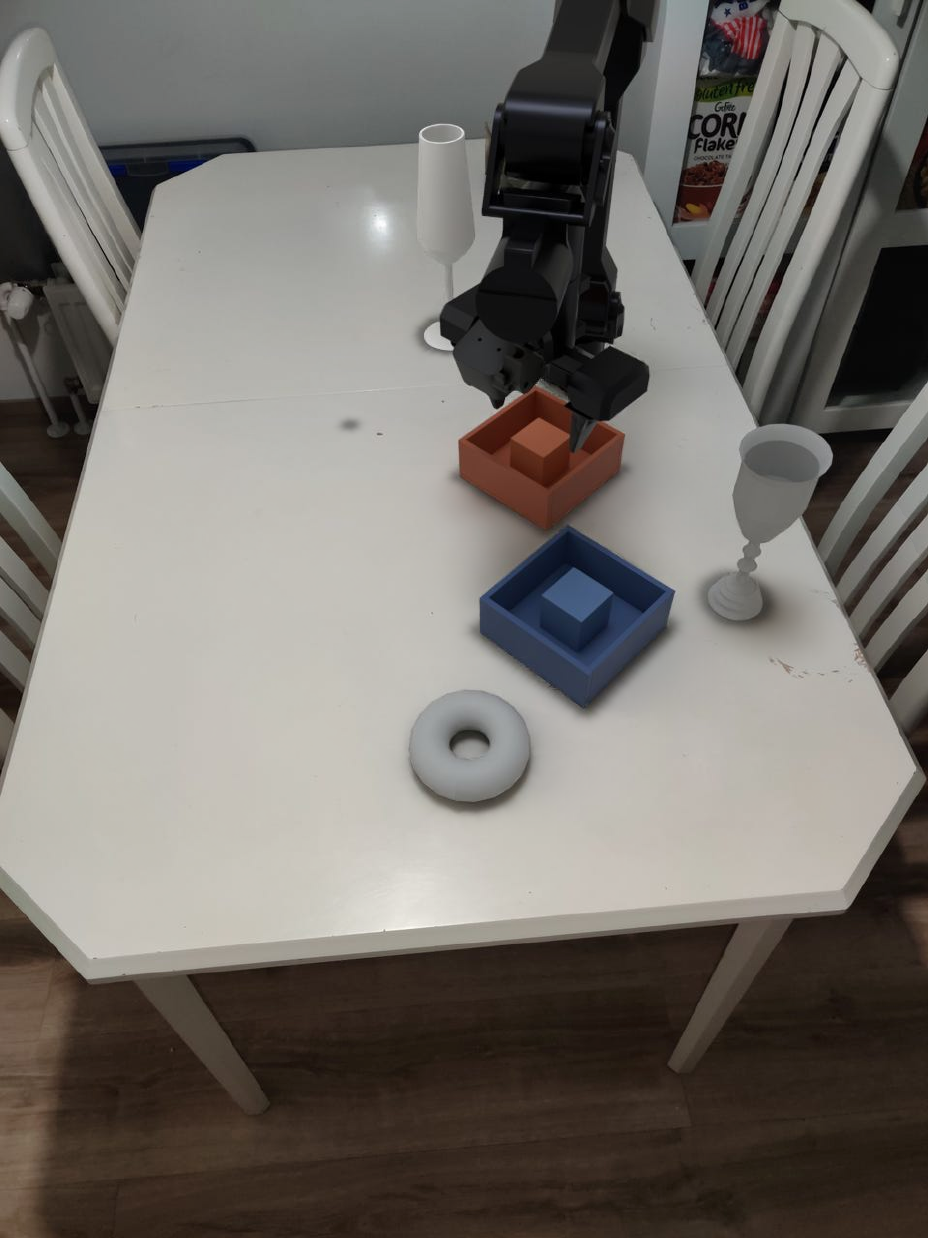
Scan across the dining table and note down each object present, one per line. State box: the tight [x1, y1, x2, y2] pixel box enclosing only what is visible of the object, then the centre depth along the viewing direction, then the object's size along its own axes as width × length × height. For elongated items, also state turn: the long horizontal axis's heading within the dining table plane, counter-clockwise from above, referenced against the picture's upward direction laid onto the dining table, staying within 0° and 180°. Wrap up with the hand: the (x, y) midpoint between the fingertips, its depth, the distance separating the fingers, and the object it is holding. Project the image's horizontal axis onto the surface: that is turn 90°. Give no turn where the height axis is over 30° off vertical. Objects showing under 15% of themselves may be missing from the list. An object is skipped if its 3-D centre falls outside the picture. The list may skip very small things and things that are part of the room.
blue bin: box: [478, 523, 676, 709], centre depth 78 cm, size 12×12×5 cm
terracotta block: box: [510, 418, 570, 487], centre depth 91 cm, size 4×4×4 cm
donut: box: [408, 689, 531, 803], centre depth 71 cm, size 10×4×10 cm
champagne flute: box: [416, 123, 476, 351], centre depth 100 cm, size 7×7×24 cm
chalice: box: [707, 423, 834, 621], centre depth 75 cm, size 7×7×18 cm
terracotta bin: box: [457, 384, 626, 532], centre depth 91 cm, size 12×12×5 cm
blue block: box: [540, 567, 613, 653], centre depth 78 cm, size 4×4×4 cm
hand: (535, 428), depth 79 cm, fingers open, 9 cm apart
